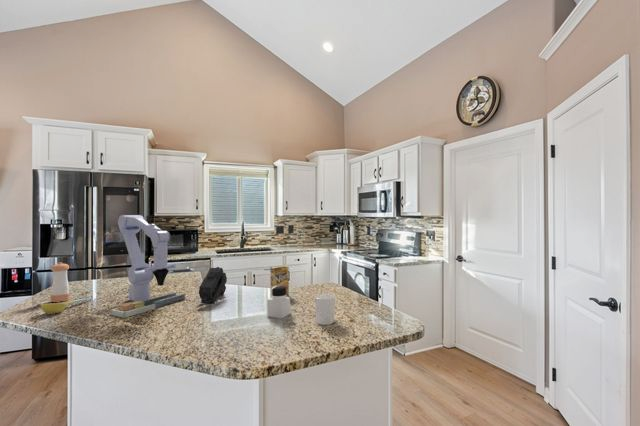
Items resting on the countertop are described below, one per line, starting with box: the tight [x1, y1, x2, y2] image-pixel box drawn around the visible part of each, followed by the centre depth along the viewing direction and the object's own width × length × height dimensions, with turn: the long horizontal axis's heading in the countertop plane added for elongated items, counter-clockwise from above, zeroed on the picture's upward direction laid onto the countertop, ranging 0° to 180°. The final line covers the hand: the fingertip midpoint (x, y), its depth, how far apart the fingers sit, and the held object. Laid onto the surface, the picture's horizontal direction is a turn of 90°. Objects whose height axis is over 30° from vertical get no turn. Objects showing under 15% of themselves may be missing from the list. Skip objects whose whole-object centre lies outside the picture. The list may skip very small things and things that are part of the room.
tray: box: [110, 304, 156, 319], centre depth 131 cm, size 9×13×3 cm
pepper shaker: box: [50, 262, 71, 303], centre depth 152 cm, size 7×7×19 cm
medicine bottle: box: [266, 286, 291, 320], centre depth 128 cm, size 7×7×12 cm
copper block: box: [118, 302, 134, 312], centre depth 129 cm, size 4×4×4 cm
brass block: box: [129, 301, 145, 309], centre depth 132 cm, size 4×4×4 cm
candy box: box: [269, 265, 290, 298], centre depth 159 cm, size 9×4×15 cm, turn 125°
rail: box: [143, 292, 187, 309], centre depth 144 cm, size 10×16×4 cm, turn 154°
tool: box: [198, 266, 228, 304], centre depth 150 cm, size 7×21×16 cm, turn 174°
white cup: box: [314, 293, 336, 326], centre depth 119 cm, size 8×8×10 cm
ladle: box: [40, 298, 94, 315], centre depth 141 cm, size 9×26×6 cm, turn 0°
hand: (160, 285), depth 143 cm, fingers closed
